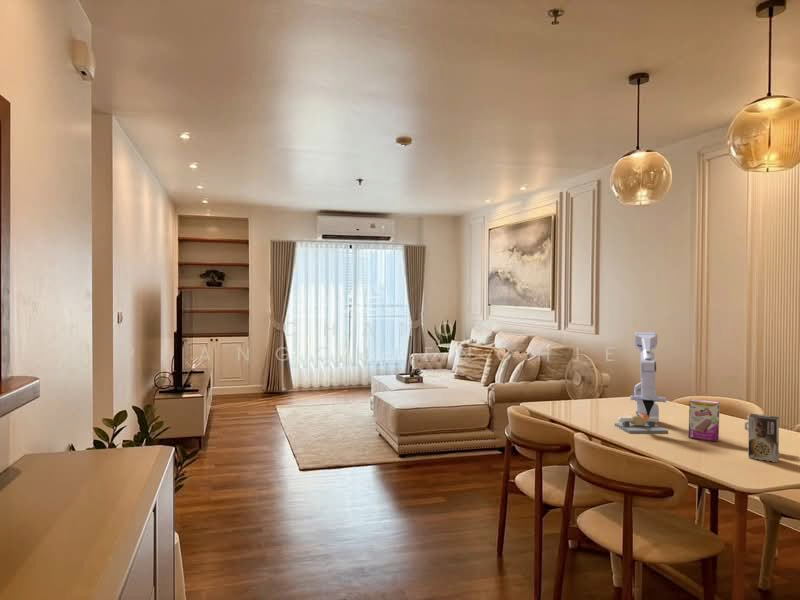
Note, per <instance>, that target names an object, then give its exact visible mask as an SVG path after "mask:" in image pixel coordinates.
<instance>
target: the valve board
mask: <svg viewBox="0 0 800 600" xmlns="http://www.w3.org/2000/svg"><path fill="white" fill-rule="evenodd" d="M617 419H618V422H614V426H615V427H616V426H617V428H618V427H619V428H618V429H620V428H621V429H620V430H622V429H623V430H622V431H624V432H626V433H627V434H669V430H668V429H666V428H663V427H660V425H657V424H656V423H660V422H659V421H660V418H658V417H649V420H645V419H642V418H641V417H640V415H638V414H636V413H635V414H634V413H633V414H631V415H630V416H619V417H618V418H617Z"/></svg>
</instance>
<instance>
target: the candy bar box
mask: <svg viewBox="0 0 800 600" xmlns="http://www.w3.org/2000/svg"><path fill="white" fill-rule="evenodd" d="M720 406H721V405H720V402H719V401H710V400H703V399H693V398H691V399H690V400H689V405H688V407H689V410H688V438H689V439H695V440H703V441H707V440H708V441H709V442H714V441H715V443H718V442H719V440H720Z"/></svg>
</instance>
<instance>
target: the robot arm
mask: <svg viewBox="0 0 800 600" xmlns="http://www.w3.org/2000/svg"><path fill="white" fill-rule="evenodd" d="M634 344H635V345H634V346H635V349H637V350H639V352H640V362H639V363H640V365H639V366H640V367H639V368H640V382H638V383H637V384H635V385H634V389H633V392H634V393H633V395H631V394H630V401H635V402H636V411H640V412H642V413H646V414H647V415H649V417H658V418H659V417H660V416H659V415H660V408H659V405H658V403H667V397H661V396H657V388H656V374H657V370H658V366H657V365H658V364H657V360H656V358H655V357H656V356H655V351H653V350H655V349H657V345H658V333H657V332H656V331H655V332H643V331H642V332H640V331H636V332H635V333H634ZM656 402H657V403H656ZM659 419H660V418H659ZM658 423H660V420H659V422H658Z"/></svg>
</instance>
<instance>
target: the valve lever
mask: <svg viewBox="0 0 800 600" xmlns="http://www.w3.org/2000/svg"><path fill="white" fill-rule="evenodd" d="M635 414H638V415H640V417H641V418H642V419H645V420H649V415H647V414H646V413H642V412H640V411H637V410H636V411H635Z"/></svg>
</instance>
